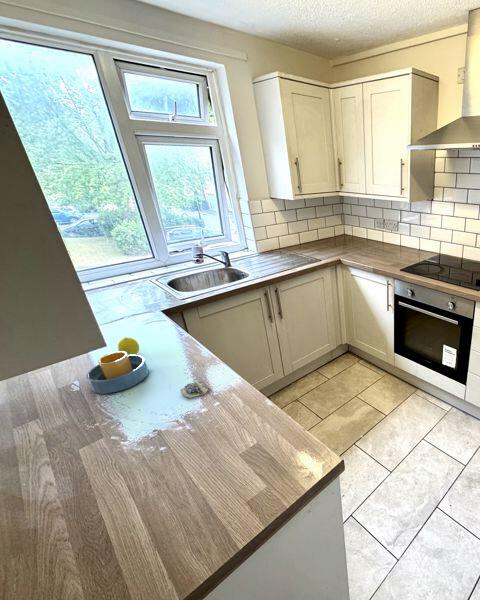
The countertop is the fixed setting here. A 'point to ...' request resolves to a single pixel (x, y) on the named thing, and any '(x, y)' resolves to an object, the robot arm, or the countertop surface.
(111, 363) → the cup
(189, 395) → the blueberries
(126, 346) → the lemon
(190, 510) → the countertop surface
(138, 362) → the bowl
